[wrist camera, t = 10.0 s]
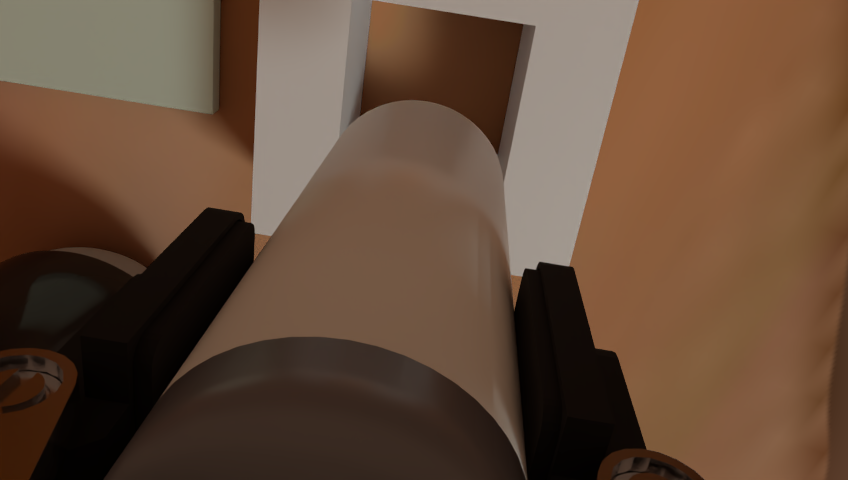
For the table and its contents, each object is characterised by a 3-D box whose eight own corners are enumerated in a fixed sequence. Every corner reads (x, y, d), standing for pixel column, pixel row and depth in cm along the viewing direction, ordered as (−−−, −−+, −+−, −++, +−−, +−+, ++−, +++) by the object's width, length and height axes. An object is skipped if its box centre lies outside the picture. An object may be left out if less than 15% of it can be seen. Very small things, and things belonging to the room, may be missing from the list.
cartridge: (486, 280, 18) (492, 816, 7) (319, 253, 18) (70, 746, 7) (519, 116, 16) (595, 499, 5) (334, 86, 16) (31, 405, 5)
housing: (552, 229, 31) (564, 283, 26) (284, 186, 31) (250, 232, 26) (671, -260, 23) (718, -303, 18) (314, -316, 23) (273, -373, 19)
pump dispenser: (35, 178, 32) (-311, 379, 18) (247, 272, 33) (78, 529, 19) (-5, 344, 36) (-310, 611, 22) (185, 423, 37) (9, 722, 23)
